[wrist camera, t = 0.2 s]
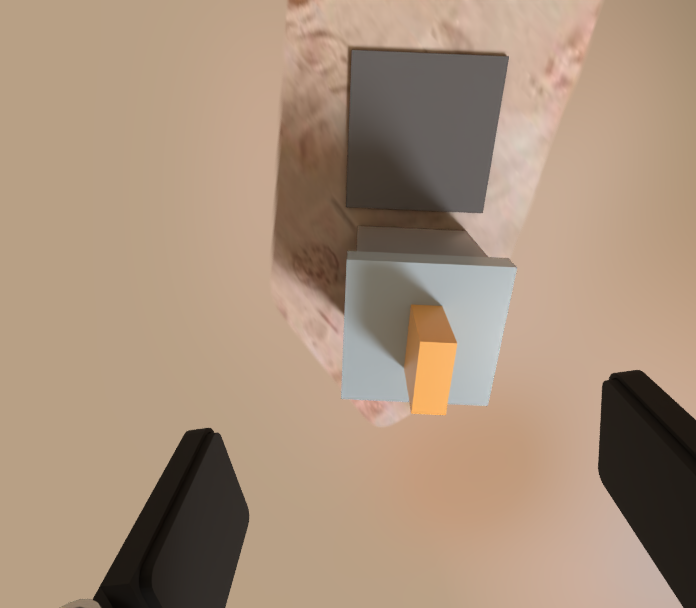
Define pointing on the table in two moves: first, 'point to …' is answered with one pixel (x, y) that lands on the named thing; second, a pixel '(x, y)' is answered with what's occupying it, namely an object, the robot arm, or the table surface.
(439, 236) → the tub
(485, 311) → the lid
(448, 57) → the mat
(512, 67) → the table surface
